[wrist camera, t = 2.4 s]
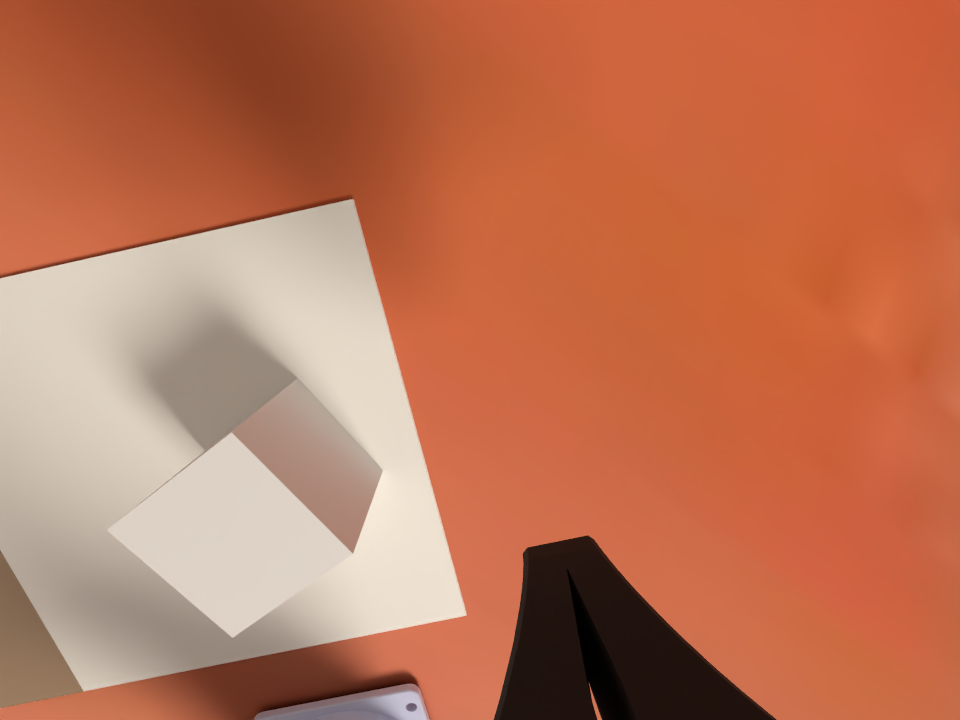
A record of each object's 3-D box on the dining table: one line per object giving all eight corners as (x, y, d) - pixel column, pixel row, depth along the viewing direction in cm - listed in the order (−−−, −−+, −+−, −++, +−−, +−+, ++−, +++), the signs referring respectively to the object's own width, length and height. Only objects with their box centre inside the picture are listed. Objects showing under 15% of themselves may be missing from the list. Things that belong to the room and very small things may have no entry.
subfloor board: (466, 604, 20) (466, 616, 20) (-106, 718, 21) (-122, 732, 21) (356, 200, 16) (352, 198, 15) (-373, 364, 17) (-405, 369, 16)
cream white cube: (204, 450, 17) (104, 529, 13) (298, 376, 17) (230, 430, 12) (293, 536, 19) (232, 639, 14) (384, 470, 18) (353, 554, 13)
